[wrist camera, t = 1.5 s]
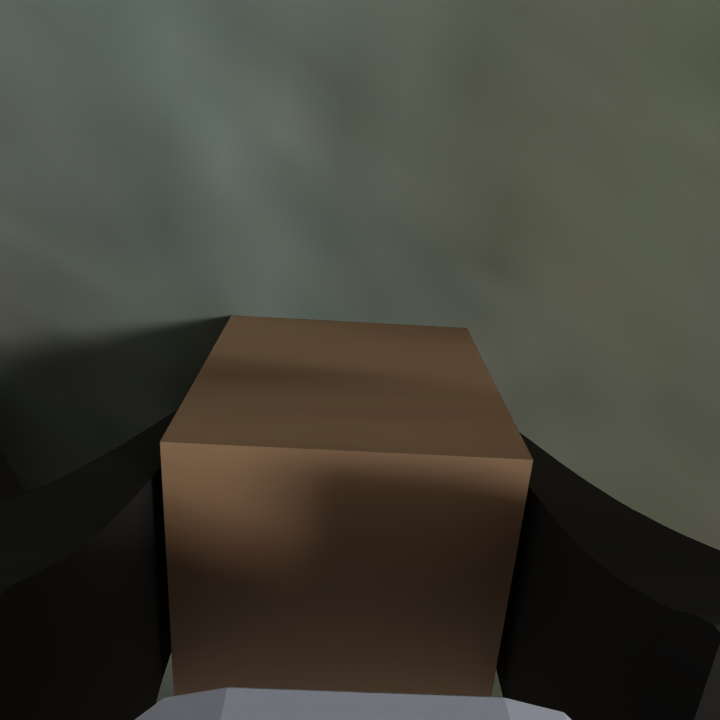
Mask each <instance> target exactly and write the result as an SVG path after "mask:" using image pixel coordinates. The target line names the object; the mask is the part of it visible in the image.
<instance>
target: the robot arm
mask: <svg viewBox="0 0 720 720" xmlns="http://www.w3.org/2000/svg"><path fill="white" fill-rule="evenodd" d="M177 411H178V410H177ZM177 411H175V412H174V413H172V414H170V415H169V416H167V417H165V418H164V419H162V420H161V421H159V422H158V423H156V424H154V425H153V426H151V427H150V428H148V429H147V430H145V431H143V432H142V433H140V434H139V435H137V436H135V437H134V438H132V439H131V440H129V441H127V442H126V443H124V444H123V445H121V446H119V447H118V448H116V449H114V450H112V451H110V452H109V453H107V454H105V455H103V456H101V457H100V458H98V459H96V460H94V461H92V462H91V463H89V464H87V465H85V466H83V467H82V468H80V469H78V470H76V471H74V472H72V473H70V474H68V475H66V476H64V477H62V478H60V479H58V480H55V481H53V482H51V483H49V484H46V485H44V486H42V487H39V488H37V489H35V490H33V491H30V492H28V493H26V494H23V495H21V496H18V497H15V498H13V499H10V500H7V501H4V502H1V503H0V720H720V551H719V550H717V549H715V548H712V547H710V546H708V545H705V544H703V543H701V542H698V541H696V540H694V539H691V538H689V537H687V536H684V535H682V534H680V533H678V532H676V531H674V530H672V529H669V528H667V527H665V526H663V525H661V524H660V523H658V522H656V521H654V520H652V519H650V518H648V517H646V516H644V515H642V514H641V513H639V512H637V511H635V510H633V509H631V508H629V507H628V506H626V505H624V504H622V503H621V502H619V501H617V500H616V499H614V498H612V497H611V496H609V495H608V494H606V493H604V492H603V491H601V490H600V489H598V488H597V487H595V486H593V485H592V484H590V483H589V482H587V481H586V480H584V479H583V478H581V477H580V476H578V475H577V474H576V473H574V472H573V471H571V470H570V469H568V468H567V467H566V466H564V465H563V464H561V463H560V462H559V461H557V460H556V459H555V458H553V457H552V456H551V455H549V454H548V453H546V452H545V451H544V450H542V449H541V448H540V447H538V446H537V445H536V444H534V443H533V442H532V441H530V440H529V439H528V438H526V437H525V436H524V435H522V434H521V433H520V432H519V433H520V435H521V437H522V439H523V441H524V443H525V445H526V447H527V449H528V450H529V452H530V454H531V456H532V458H533V464H532V470H531V475H530V481H529V486H528V492H527V498H526V503H525V509H524V514H523V520H522V526H521V531H520V537H519V542H518V548H517V554H516V559H515V565H514V570H513V576H512V582H511V587H510V593H509V598H508V604H507V610H506V615H505V621H504V626H503V632H502V638H501V643H500V649H499V654H498V660H497V666H496V670H497V674H498V678H499V682H500V686H501V690H502V694H503V697H497V696H470V695H442V694H415V693H387V692H360V691H332V690H305V689H277V688H249V687H225V688H219V689H213V690H207V691H201V692H195V693H189V694H183V695H176V696H171V697H167V698H163V699H162V700H161V701H159V702H158V703H156V700H157V697H158V693H159V689H160V685H161V682H162V678H163V675H164V672H165V669H166V666H167V663H168V660H169V657H170V654H171V652H172V649H171V631H170V613H169V596H168V578H167V560H166V542H165V524H164V506H163V488H162V470H161V452H160V441H161V439H162V437H163V435H164V434H165V432H166V430H167V428H168V427H169V425H170V423H171V421H172V420H173V418H174V416H175V414H176V412H177Z"/></svg>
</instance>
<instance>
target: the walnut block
mask: <svg viewBox="0 0 720 720" xmlns="http://www.w3.org/2000/svg"><path fill="white" fill-rule="evenodd" d="M160 452H161V470H162V488H163V506H164V524H165V542H166V560H167V578H168V596H169V613H170V631H171V649H172V667H173V685H174V696H176V695H183V694H189V693H195V692H201V691H207V690H213V689H219V688H225V687H249V688H277V689H305V690H332V691H360V692H387V693H415V694H442V695H470V696H491V694H492V688H493V682H494V677H495V671H496V666H497V660H498V654H499V649H500V643H501V638H502V632H503V626H504V621H505V615H506V610H507V604H508V598H509V593H510V587H511V582H512V576H513V570H514V565H515V559H516V554H517V548H518V542H519V537H520V531H521V526H522V520H523V514H524V509H525V503H526V498H527V492H528V486H529V481H530V475H531V470H532V464H533V458H532V456H531V454H530V452H529V450H528V449H527V447H526V445H525V443H524V441H523V439H522V437H521V435H520V433H519V431H518V429H517V427H516V425H515V423H514V421H513V419H512V417H511V415H510V413H509V411H508V409H507V407H506V405H505V403H504V401H503V399H502V397H501V395H500V393H499V391H498V389H497V387H496V385H495V383H494V381H493V379H492V377H491V375H490V373H489V371H488V369H487V367H486V365H485V363H484V361H483V359H482V357H481V355H480V353H479V351H478V349H477V348H476V346H475V344H474V342H473V340H472V338H471V336H470V334H469V332H468V330H467V328H453V327H435V326H417V325H398V324H380V323H362V322H343V321H325V320H306V319H288V318H270V317H251V316H233V315H231V317H230V319H229V321H228V322H227V324H226V326H225V328H224V329H223V331H222V333H221V335H220V336H219V338H218V340H217V342H216V343H215V345H214V347H213V349H212V351H211V352H210V354H209V356H208V358H207V359H206V361H205V363H204V365H203V366H202V368H201V370H200V372H199V374H198V375H197V377H196V379H195V381H194V382H193V384H192V386H191V388H190V389H189V391H188V393H187V395H186V397H185V398H184V400H183V402H182V404H181V405H180V407H179V409H178V411H177V412H176V414H175V416H174V418H173V420H172V421H171V423H170V425H169V427H168V428H167V430H166V432H165V434H164V435H163V437H162V439H161V441H160Z"/></svg>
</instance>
